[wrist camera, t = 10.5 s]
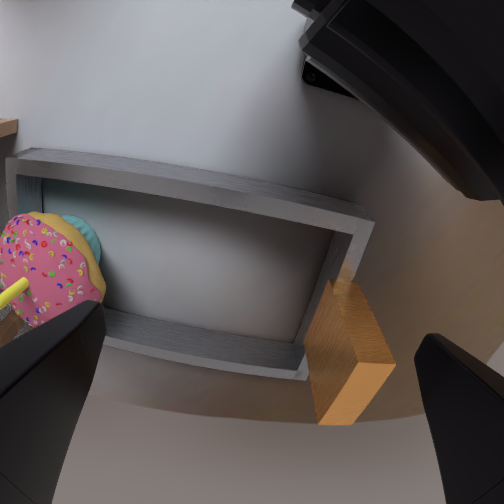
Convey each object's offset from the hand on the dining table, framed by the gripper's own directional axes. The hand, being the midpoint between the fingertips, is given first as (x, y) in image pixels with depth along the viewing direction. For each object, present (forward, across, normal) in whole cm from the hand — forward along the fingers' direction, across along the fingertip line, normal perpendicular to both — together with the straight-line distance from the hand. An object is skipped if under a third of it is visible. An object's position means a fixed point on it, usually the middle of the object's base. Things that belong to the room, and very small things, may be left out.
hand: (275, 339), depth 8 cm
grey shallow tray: (+13, +5, +5) cm, 15 cm away
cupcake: (+13, +13, +5) cm, 19 cm away
